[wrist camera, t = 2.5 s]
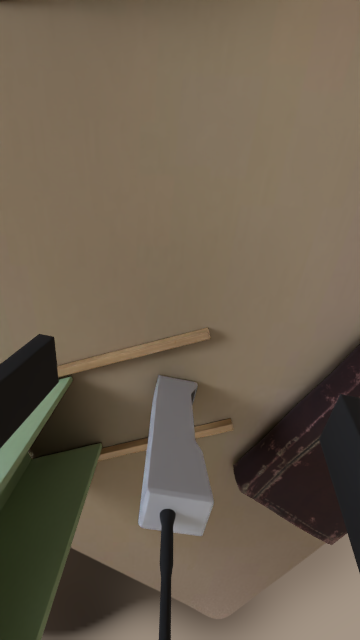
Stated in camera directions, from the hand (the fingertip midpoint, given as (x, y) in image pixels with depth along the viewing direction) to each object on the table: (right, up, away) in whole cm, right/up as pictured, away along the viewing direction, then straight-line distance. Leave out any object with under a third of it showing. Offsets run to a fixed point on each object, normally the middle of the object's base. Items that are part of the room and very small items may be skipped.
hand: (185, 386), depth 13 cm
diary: (+22, -13, +27) cm, 37 cm away
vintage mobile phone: (-1, -6, +24) cm, 25 cm away
